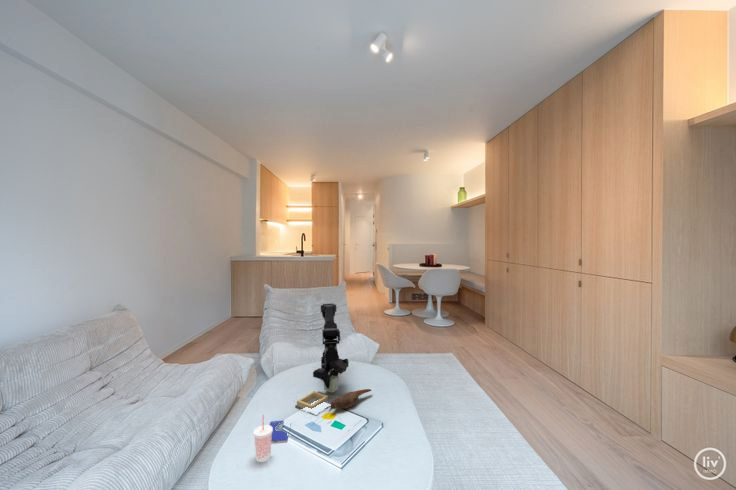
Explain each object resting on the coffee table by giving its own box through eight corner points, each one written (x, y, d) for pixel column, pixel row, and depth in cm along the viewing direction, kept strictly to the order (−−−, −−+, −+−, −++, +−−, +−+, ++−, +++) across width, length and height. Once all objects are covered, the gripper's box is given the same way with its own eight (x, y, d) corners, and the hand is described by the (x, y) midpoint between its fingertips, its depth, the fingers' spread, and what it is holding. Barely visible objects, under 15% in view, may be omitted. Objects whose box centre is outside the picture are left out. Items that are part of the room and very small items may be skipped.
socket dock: (318, 393, 149) (318, 387, 149) (339, 400, 142) (339, 393, 142) (295, 407, 136) (295, 400, 136) (316, 415, 130) (316, 408, 130)
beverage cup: (266, 448, 109) (265, 408, 109) (276, 456, 105) (276, 414, 105) (249, 458, 105) (249, 415, 104) (260, 466, 101) (259, 422, 101)
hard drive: (270, 421, 124) (263, 441, 112) (291, 419, 125) (287, 439, 113) (270, 425, 124) (263, 445, 112) (291, 423, 125) (287, 443, 113)
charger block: (329, 386, 153) (329, 374, 153) (337, 389, 150) (337, 376, 150) (324, 390, 150) (323, 377, 149) (332, 392, 147) (332, 379, 147)
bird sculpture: (375, 397, 145) (375, 386, 145) (333, 420, 127) (333, 407, 127) (364, 392, 150) (364, 382, 149) (323, 413, 131) (323, 401, 131)
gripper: (331, 363, 137) (331, 399, 138) (356, 350, 153) (356, 383, 153) (312, 358, 144) (312, 392, 144) (337, 346, 159) (337, 377, 159)
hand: (330, 386), depth 150 cm, fingers closed on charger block, 4 cm apart
